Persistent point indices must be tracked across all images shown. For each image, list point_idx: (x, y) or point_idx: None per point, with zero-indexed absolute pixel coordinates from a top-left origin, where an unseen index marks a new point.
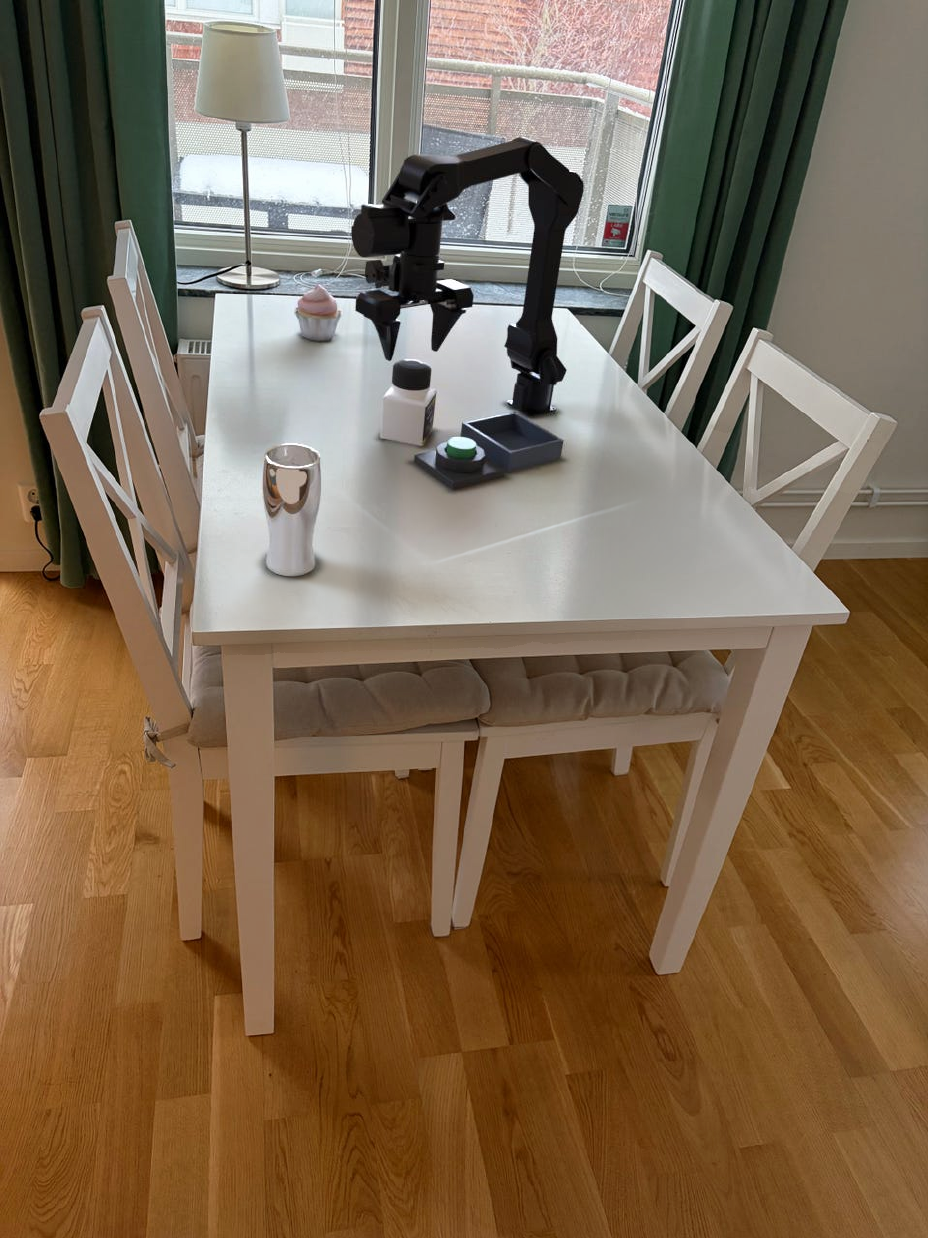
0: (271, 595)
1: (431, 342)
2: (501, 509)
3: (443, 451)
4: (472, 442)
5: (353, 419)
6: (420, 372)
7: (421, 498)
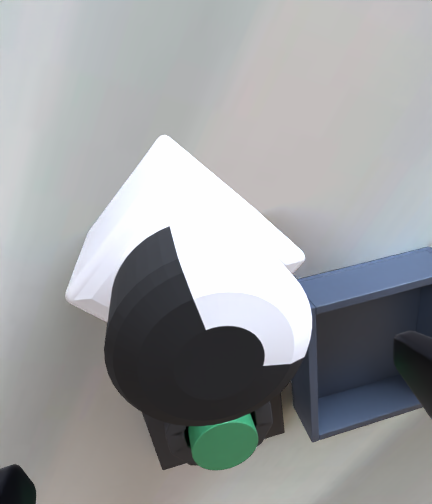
0: None
1: (429, 363)
2: (212, 497)
3: (181, 430)
4: (250, 444)
5: (35, 71)
6: (217, 423)
7: (91, 474)
